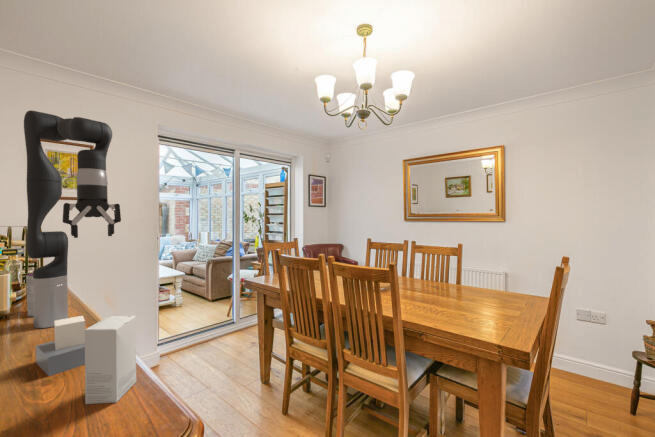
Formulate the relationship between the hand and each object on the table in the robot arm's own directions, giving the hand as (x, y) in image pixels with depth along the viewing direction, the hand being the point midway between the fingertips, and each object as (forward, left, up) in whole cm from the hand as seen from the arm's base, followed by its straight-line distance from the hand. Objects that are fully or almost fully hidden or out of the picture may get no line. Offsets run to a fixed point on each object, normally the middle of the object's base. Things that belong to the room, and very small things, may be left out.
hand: (93, 236), depth 96 cm
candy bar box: (-50, -8, -32) cm, 60 cm away
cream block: (+12, -7, -28) cm, 31 cm away
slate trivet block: (+12, -7, -33) cm, 35 cm away
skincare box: (+39, -3, -32) cm, 51 cm away
